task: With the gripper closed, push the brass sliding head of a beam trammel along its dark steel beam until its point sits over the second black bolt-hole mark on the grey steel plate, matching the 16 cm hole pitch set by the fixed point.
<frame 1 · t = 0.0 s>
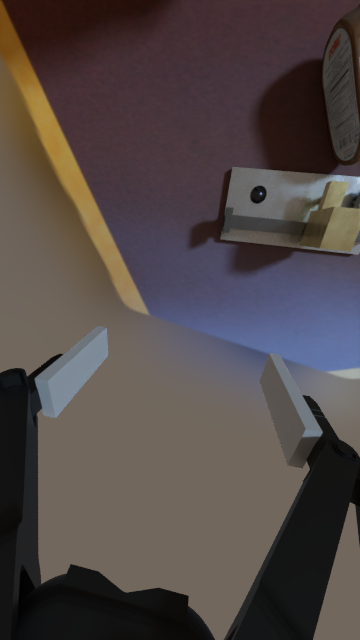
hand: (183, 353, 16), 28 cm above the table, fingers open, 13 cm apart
tin: (332, 115, 30), on the table
bolt plate: (295, 212, 35), on the table
sliding head: (330, 216, 30), point 6 cm above the table, slide at 0.0 cm
trammel beam: (290, 228, 36), resting on bolt plate
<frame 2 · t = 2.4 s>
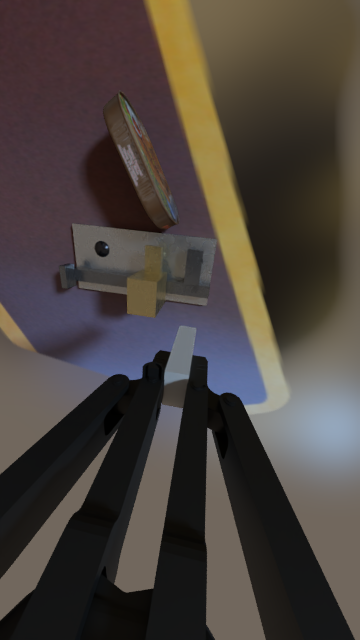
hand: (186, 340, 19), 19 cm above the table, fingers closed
tin: (154, 178, 31), on the table
bolt plate: (143, 265, 36), on the table
sliding head: (150, 277, 30), point 6 cm above the table, slide at 0.0 cm
trammel beam: (143, 279, 37), resting on bolt plate
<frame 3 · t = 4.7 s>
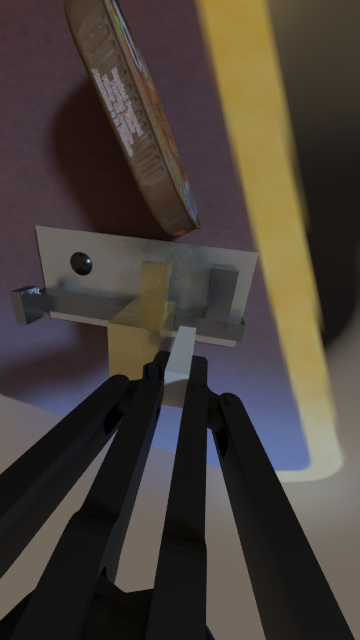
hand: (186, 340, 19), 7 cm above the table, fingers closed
tin: (161, 155, 19), on the table
bolt plate: (142, 287, 24), on the table
sliding head: (150, 312, 19), point 6 cm above the table, slide at 0.4 cm, touching gripper
trammel beam: (142, 306, 25), resting on bolt plate
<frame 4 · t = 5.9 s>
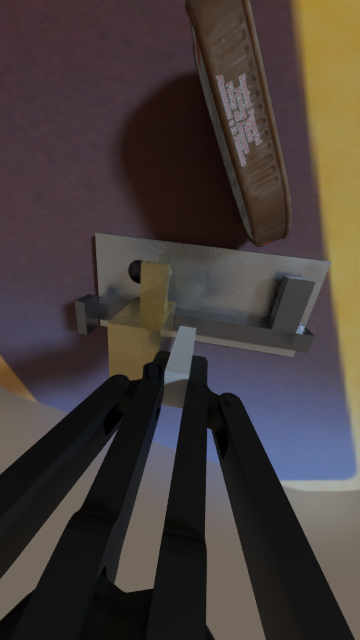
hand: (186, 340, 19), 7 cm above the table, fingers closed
tin: (234, 161, 19), on the table
bolt plate: (199, 295, 24), on the table
sliding head: (150, 312, 19), point 6 cm above the table, slide at 7.3 cm, touching gripper
trammel beam: (196, 315, 25), resting on bolt plate
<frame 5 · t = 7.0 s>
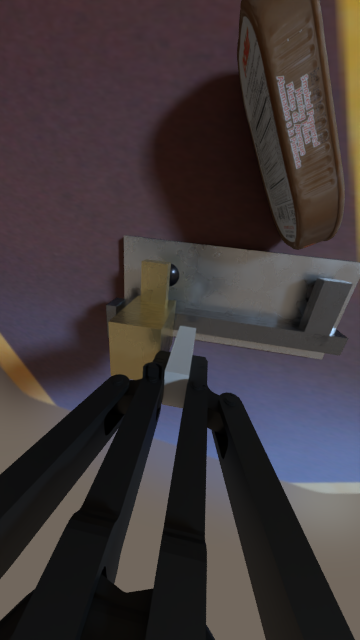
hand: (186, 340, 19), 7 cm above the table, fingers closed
tin: (269, 162, 18), on the table
bolt plate: (227, 298, 23), on the table
sliding head: (150, 311, 19), point 6 cm above the table, slide at 10.5 cm, touching gripper
trammel beam: (223, 317, 24), resting on bolt plate
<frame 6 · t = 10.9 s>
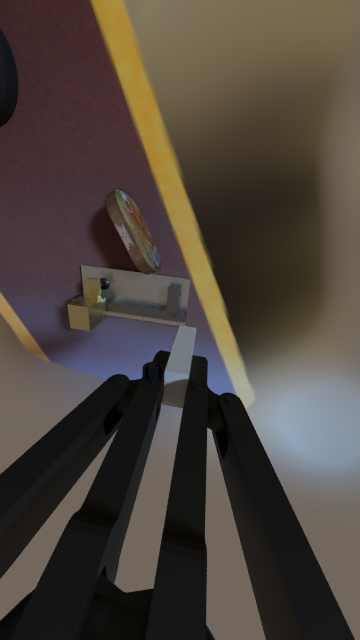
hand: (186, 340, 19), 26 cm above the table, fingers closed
tin: (143, 234, 41), on the table
bolt plate: (135, 295, 46), on the table
sliding head: (90, 301, 42), point 6 cm above the table, slide at 10.5 cm
trammel beam: (135, 305, 47), resting on bolt plate
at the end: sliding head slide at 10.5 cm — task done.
